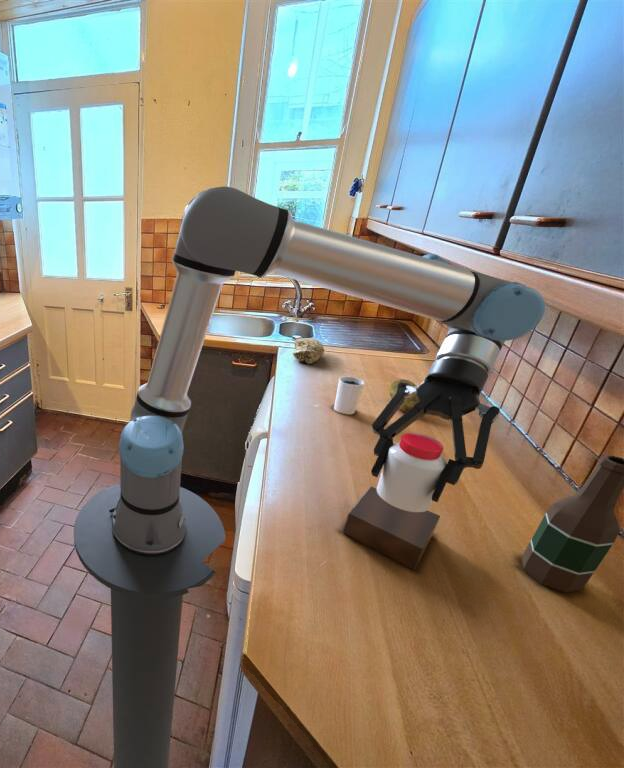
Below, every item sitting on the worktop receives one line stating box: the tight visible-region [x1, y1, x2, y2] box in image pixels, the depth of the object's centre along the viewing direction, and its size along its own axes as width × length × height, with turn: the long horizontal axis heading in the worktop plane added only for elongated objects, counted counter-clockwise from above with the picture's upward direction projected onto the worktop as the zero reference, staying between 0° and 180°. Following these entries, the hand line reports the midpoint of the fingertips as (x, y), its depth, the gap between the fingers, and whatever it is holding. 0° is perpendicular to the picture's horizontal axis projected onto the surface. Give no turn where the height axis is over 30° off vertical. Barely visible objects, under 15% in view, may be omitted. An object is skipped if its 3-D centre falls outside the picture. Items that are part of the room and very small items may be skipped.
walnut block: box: [342, 485, 441, 571], centre depth 78 cm, size 12×12×5 cm
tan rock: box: [292, 337, 325, 365], centre depth 168 cm, size 13×8×20 cm
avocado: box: [389, 379, 419, 413], centre depth 125 cm, size 8×13×8 cm, turn 159°
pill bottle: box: [375, 432, 448, 512], centre depth 67 cm, size 8×8×11 cm
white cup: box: [333, 375, 365, 415], centre depth 124 cm, size 7×7×10 cm
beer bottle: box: [521, 454, 624, 593], centre depth 65 cm, size 8×8×24 cm
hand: (403, 486), depth 65 cm, fingers closed on pill bottle, 8 cm apart
